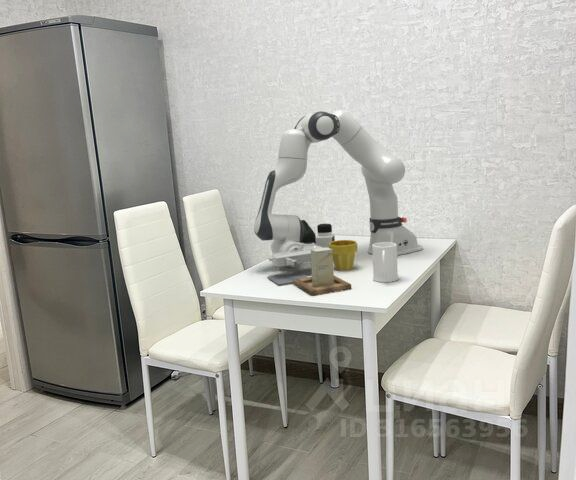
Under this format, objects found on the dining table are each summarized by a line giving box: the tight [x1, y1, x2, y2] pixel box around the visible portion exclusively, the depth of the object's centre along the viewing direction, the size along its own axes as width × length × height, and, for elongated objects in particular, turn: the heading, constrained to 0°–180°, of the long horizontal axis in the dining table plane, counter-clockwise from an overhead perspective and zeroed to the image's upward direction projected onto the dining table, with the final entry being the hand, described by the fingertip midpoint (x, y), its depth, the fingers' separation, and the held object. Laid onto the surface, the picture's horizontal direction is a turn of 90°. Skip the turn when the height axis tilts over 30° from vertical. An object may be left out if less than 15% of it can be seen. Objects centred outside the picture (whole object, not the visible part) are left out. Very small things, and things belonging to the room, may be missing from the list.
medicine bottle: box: [316, 222, 336, 248], centre depth 242 cm, size 7×7×12 cm
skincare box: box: [310, 247, 335, 287], centre depth 189 cm, size 6×4×12 cm
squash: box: [300, 219, 317, 245], centre depth 243 cm, size 14×15×15 cm
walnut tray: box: [292, 275, 352, 297], centre depth 191 cm, size 14×16×2 cm
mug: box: [372, 242, 399, 283], centre depth 192 cm, size 12×8×12 cm
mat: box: [267, 271, 309, 287], centre depth 203 cm, size 12×12×1 cm
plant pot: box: [329, 239, 358, 271], centre depth 212 cm, size 10×10×10 cm
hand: (307, 261), depth 200 cm, fingers open, 8 cm apart
